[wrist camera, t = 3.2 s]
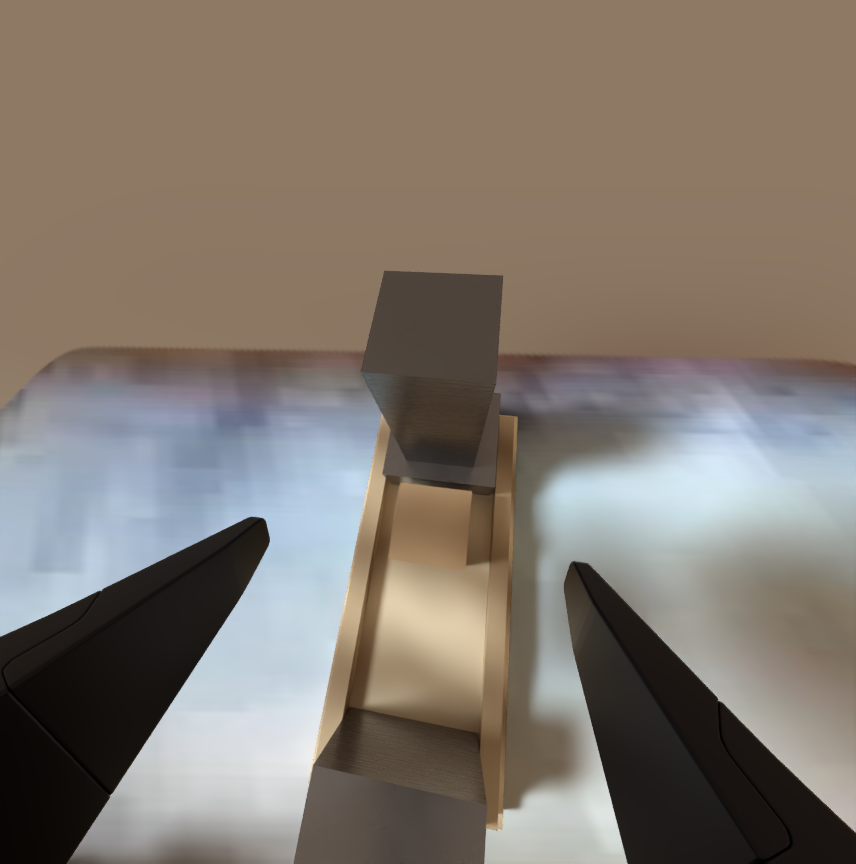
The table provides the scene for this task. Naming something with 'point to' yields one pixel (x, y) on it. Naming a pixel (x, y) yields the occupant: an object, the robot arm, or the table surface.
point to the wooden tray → (431, 623)
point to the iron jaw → (395, 795)
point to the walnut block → (431, 526)
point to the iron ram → (437, 377)
